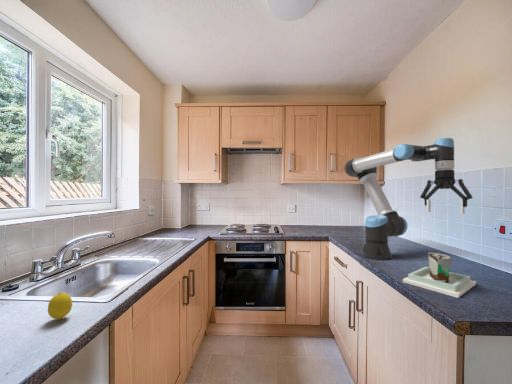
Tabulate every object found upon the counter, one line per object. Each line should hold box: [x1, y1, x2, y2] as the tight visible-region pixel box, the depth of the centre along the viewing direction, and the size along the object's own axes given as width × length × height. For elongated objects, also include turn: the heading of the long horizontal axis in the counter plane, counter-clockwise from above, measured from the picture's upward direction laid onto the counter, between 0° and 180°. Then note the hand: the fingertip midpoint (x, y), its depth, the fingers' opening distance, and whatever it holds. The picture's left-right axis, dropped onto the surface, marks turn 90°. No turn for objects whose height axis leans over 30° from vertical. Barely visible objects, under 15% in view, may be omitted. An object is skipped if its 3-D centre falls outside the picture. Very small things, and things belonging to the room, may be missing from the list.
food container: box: [427, 251, 453, 283], centre depth 95 cm, size 12×6×10 cm, turn 159°
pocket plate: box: [402, 266, 477, 299], centre depth 96 cm, size 18×21×3 cm
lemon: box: [47, 292, 73, 321], centre depth 69 cm, size 6×6×8 cm
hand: (444, 213), depth 116 cm, fingers open, 13 cm apart
